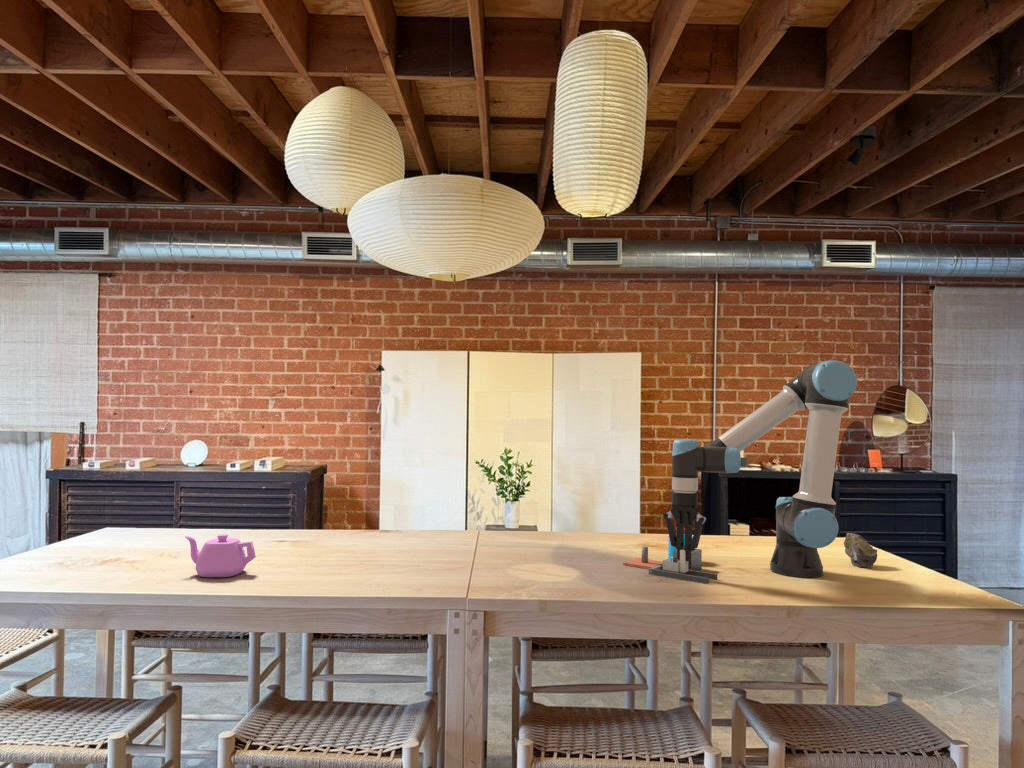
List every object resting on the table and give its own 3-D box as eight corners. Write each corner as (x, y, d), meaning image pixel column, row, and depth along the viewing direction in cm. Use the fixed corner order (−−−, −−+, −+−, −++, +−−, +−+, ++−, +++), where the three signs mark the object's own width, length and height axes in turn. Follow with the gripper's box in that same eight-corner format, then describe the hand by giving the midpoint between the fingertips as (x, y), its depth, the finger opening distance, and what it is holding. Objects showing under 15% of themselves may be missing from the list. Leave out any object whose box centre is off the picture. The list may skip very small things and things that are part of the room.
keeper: (666, 564, 218) (666, 546, 219) (652, 569, 211) (652, 551, 211) (637, 560, 225) (637, 542, 225) (623, 565, 217) (623, 547, 217)
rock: (835, 564, 223) (835, 534, 223) (848, 561, 229) (848, 531, 230) (870, 570, 215) (870, 539, 215) (882, 566, 221) (882, 535, 222)
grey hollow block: (701, 568, 213) (701, 549, 214) (691, 573, 207) (691, 553, 207) (683, 565, 217) (683, 546, 217) (672, 570, 211) (672, 550, 211)
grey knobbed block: (685, 574, 204) (685, 557, 205) (678, 576, 200) (678, 559, 201) (669, 571, 207) (669, 554, 208) (662, 574, 204) (662, 557, 204)
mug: (697, 564, 221) (697, 538, 221) (672, 564, 220) (673, 538, 220) (684, 556, 233) (685, 532, 233) (661, 556, 232) (661, 532, 232)
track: (717, 579, 200) (717, 574, 200) (707, 584, 194) (707, 578, 194) (659, 569, 211) (659, 564, 211) (648, 573, 205) (648, 568, 205)
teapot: (192, 568, 201) (194, 530, 202) (261, 569, 202) (263, 531, 203) (172, 579, 188) (174, 538, 189) (246, 579, 189) (248, 539, 190)
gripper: (710, 492, 202) (710, 573, 201) (669, 488, 210) (668, 566, 209) (701, 494, 196) (700, 577, 195) (659, 490, 204) (658, 570, 203)
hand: (684, 571), depth 202 cm, fingers closed
